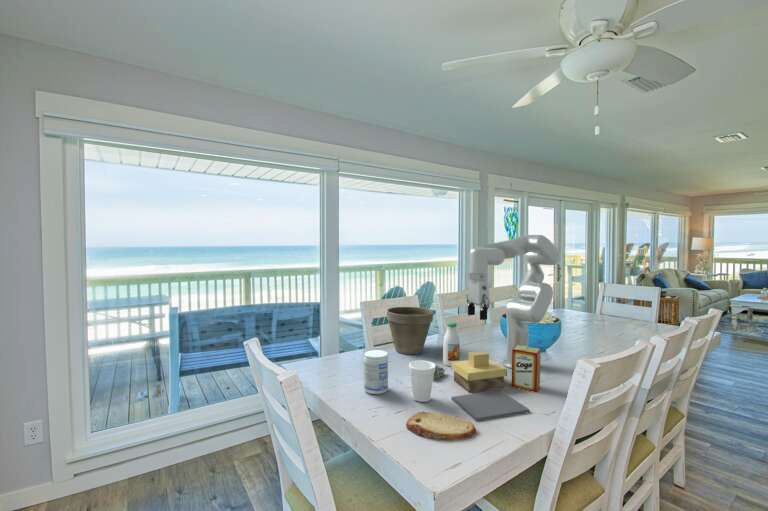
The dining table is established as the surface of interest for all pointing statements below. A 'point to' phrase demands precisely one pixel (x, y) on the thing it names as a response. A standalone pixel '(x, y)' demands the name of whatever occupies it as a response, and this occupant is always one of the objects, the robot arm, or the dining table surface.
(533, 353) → the baking soda box
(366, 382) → the supplement tub
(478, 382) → the box
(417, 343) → the plant pot
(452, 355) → the milk bottle
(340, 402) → the dining table surface
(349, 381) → the dining table surface
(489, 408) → the mat
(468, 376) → the lid
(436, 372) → the egg carton
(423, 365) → the cup
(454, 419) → the slice of bread
